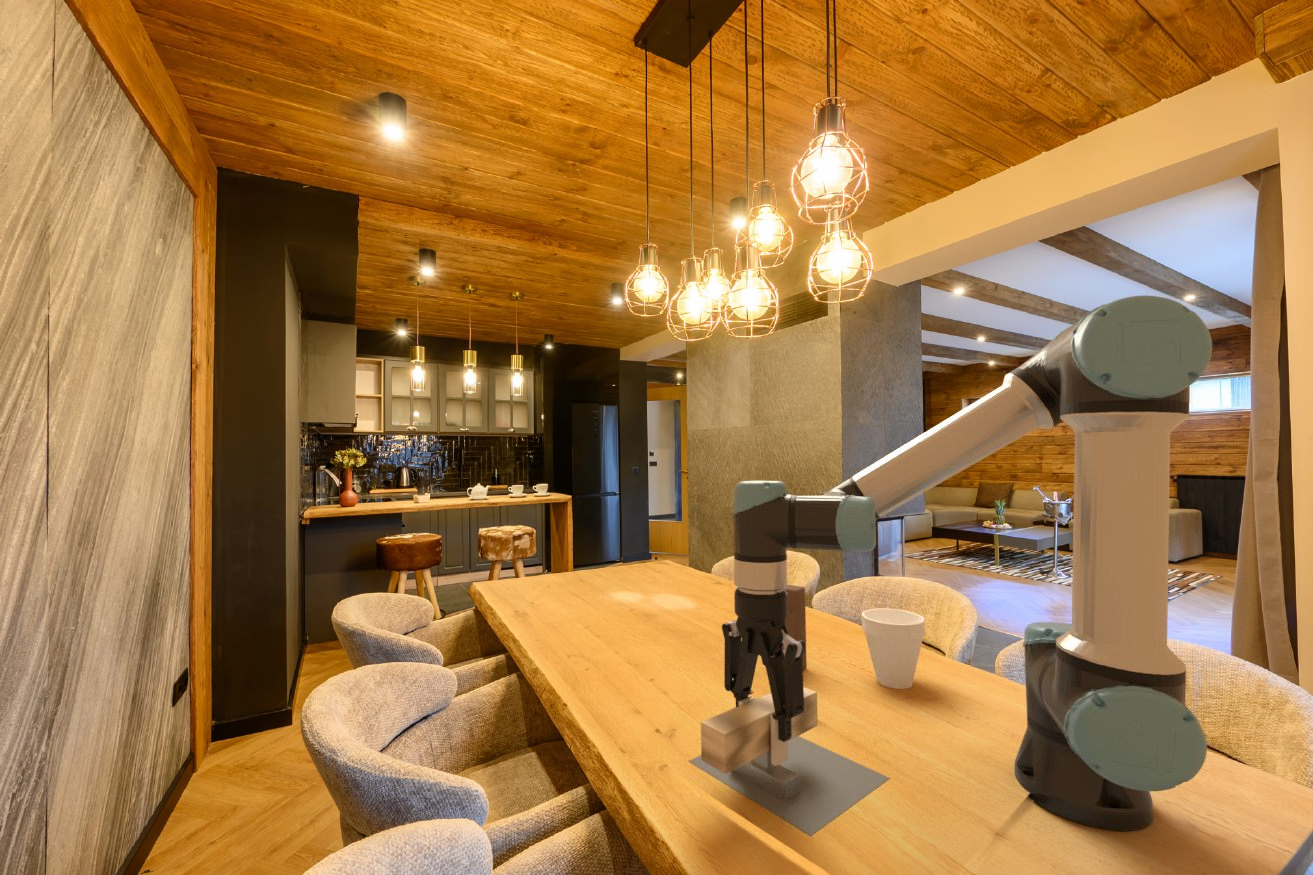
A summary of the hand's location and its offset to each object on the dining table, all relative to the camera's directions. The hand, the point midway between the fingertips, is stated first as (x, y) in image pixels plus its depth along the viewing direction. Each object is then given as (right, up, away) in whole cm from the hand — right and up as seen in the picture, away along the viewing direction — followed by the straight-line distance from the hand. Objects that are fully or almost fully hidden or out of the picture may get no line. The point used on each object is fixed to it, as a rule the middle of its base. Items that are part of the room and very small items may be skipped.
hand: (763, 752), depth 79 cm
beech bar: (0, +1, 0) cm, 1 cm away
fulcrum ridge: (0, -5, 0) cm, 5 cm away
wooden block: (+14, -7, +43) cm, 46 cm away
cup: (+34, -6, +37) cm, 51 cm away
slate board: (+4, -5, +3) cm, 7 cm away
